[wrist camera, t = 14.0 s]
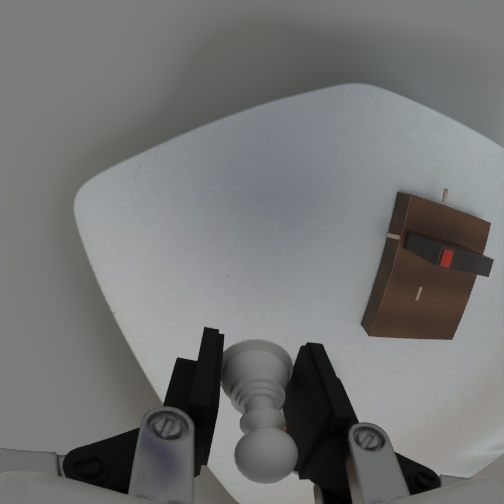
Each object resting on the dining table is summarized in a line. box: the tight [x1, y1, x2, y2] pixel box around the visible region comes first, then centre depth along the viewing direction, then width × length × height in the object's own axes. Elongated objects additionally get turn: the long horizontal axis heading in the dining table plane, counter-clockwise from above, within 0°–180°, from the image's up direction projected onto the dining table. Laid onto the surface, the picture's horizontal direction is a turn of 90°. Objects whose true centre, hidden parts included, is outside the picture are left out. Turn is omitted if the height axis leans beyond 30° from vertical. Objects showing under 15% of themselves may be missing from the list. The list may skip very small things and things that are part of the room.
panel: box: [361, 188, 491, 340], centre depth 27 cm, size 16×14×3 cm
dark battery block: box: [403, 231, 494, 277], centre depth 22 cm, size 7×2×6 cm, turn 80°
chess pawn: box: [221, 339, 298, 484], centre depth 8 cm, size 3×3×5 cm
